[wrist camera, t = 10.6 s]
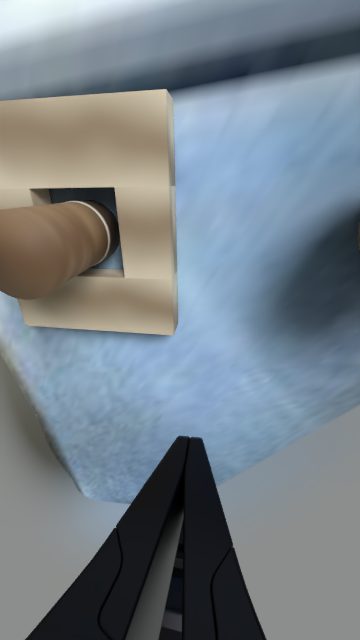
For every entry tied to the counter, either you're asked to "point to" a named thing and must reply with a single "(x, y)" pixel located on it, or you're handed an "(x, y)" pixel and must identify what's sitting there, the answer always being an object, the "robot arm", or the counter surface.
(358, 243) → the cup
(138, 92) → the board
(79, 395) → the counter surface
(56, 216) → the peg
